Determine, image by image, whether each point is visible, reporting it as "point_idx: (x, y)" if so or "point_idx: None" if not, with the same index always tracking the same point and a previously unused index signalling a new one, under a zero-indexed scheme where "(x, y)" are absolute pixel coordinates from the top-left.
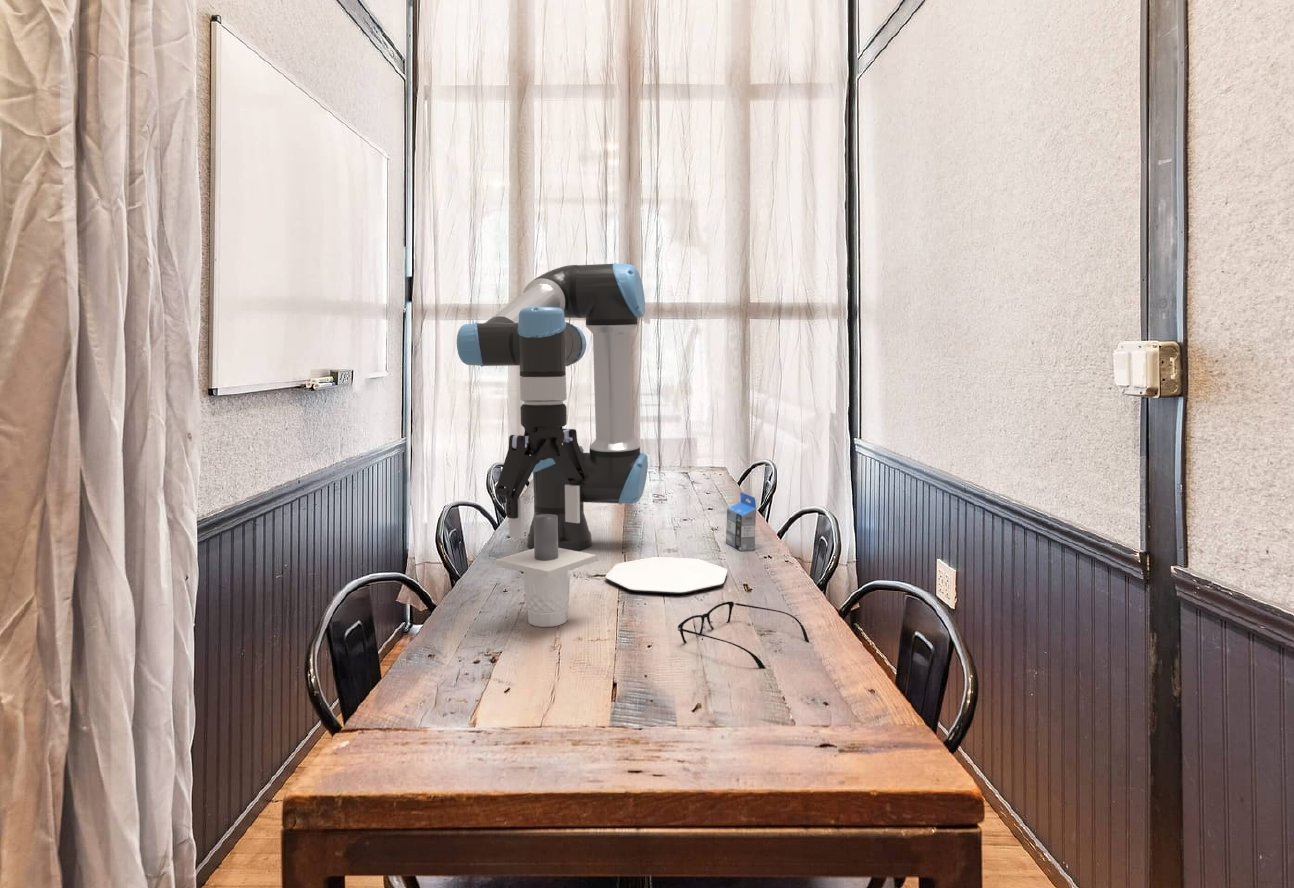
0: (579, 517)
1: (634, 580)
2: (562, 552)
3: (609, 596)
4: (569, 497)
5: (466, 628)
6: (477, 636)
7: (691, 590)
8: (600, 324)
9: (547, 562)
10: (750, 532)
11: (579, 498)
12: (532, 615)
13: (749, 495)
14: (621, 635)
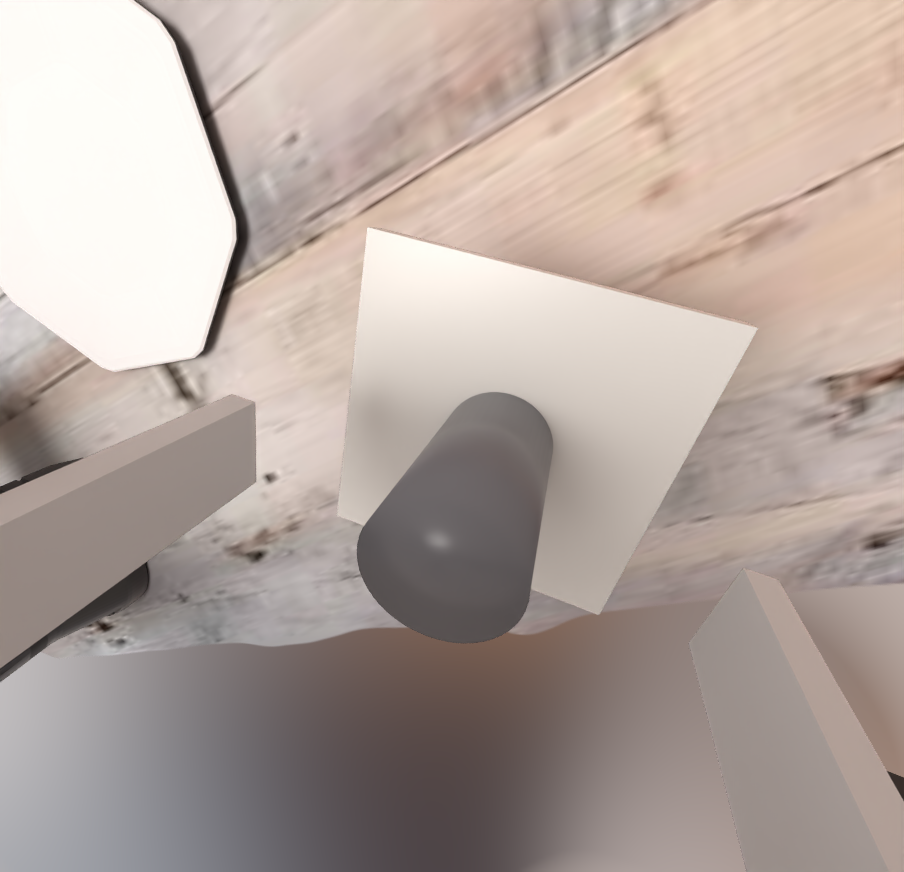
0: (208, 407)
1: (158, 277)
2: (398, 410)
3: (291, 287)
4: (108, 547)
5: (648, 535)
6: (703, 490)
7: (135, 2)
8: None
9: (578, 406)
10: None
11: (68, 466)
12: None
13: None
14: (592, 47)
